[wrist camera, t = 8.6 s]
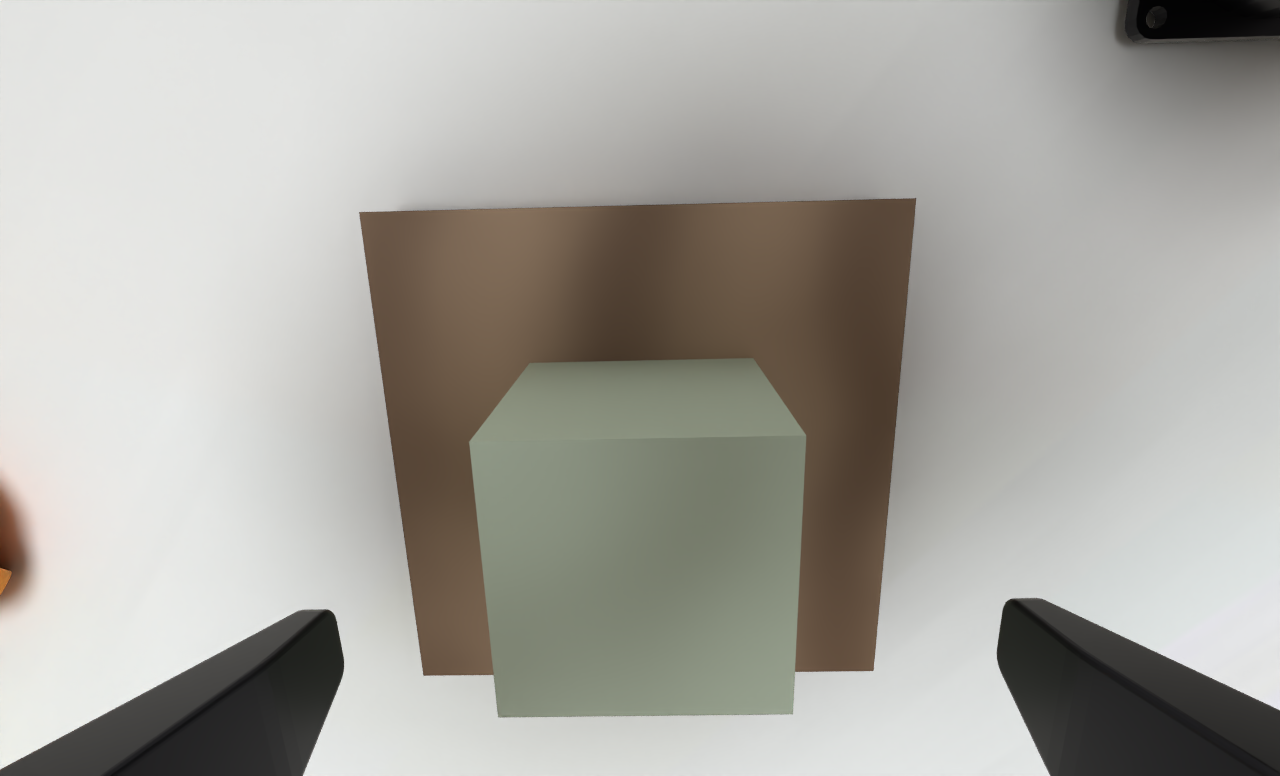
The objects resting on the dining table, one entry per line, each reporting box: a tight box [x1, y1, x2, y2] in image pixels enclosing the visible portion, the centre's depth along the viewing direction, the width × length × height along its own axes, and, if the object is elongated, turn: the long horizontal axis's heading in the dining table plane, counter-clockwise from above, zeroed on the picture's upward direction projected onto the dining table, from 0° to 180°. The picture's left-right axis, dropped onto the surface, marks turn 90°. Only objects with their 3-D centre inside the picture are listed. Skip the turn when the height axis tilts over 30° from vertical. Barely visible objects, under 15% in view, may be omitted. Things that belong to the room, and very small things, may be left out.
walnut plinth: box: [359, 198, 916, 676], centre depth 19 cm, size 14×14×2 cm
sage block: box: [469, 358, 806, 717], centre depth 15 cm, size 6×6×6 cm
